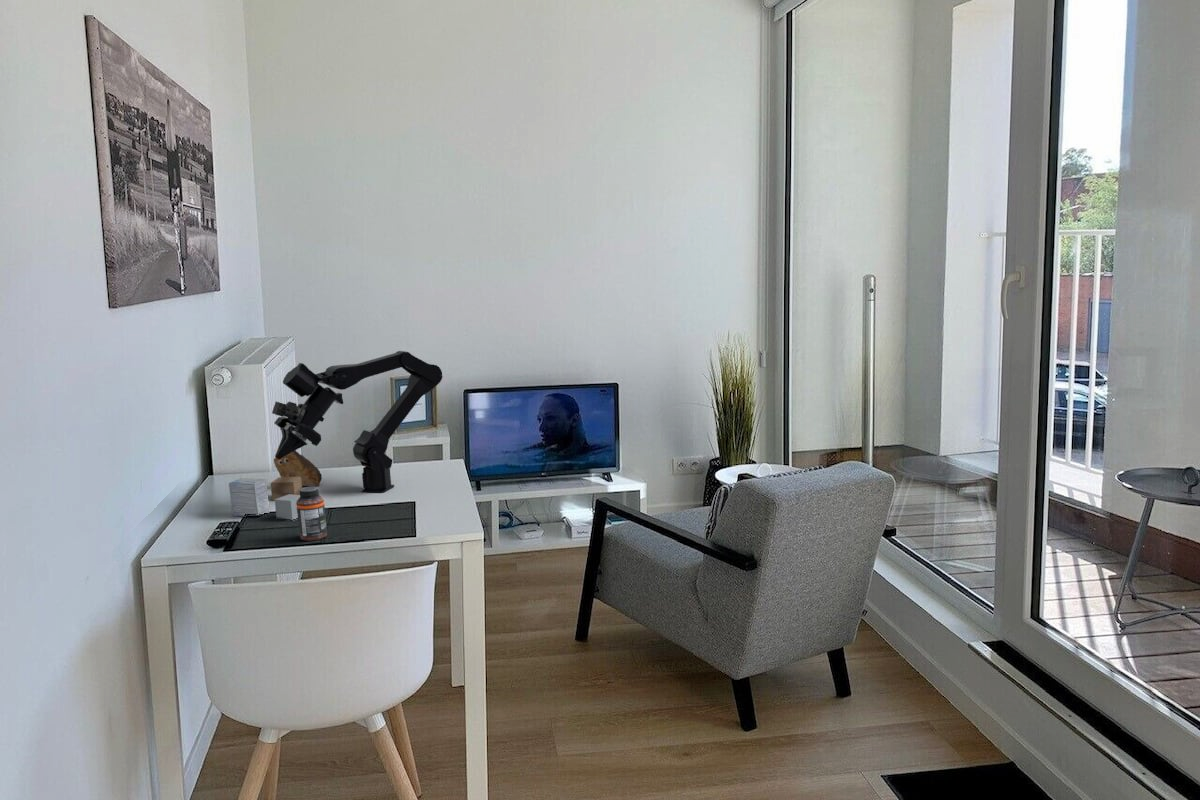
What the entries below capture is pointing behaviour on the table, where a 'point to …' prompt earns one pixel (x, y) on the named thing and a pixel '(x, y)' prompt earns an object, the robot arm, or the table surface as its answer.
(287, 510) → the slate-grey block
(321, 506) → the supplement bottle
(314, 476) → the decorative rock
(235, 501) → the medicine box
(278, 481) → the walnut block
